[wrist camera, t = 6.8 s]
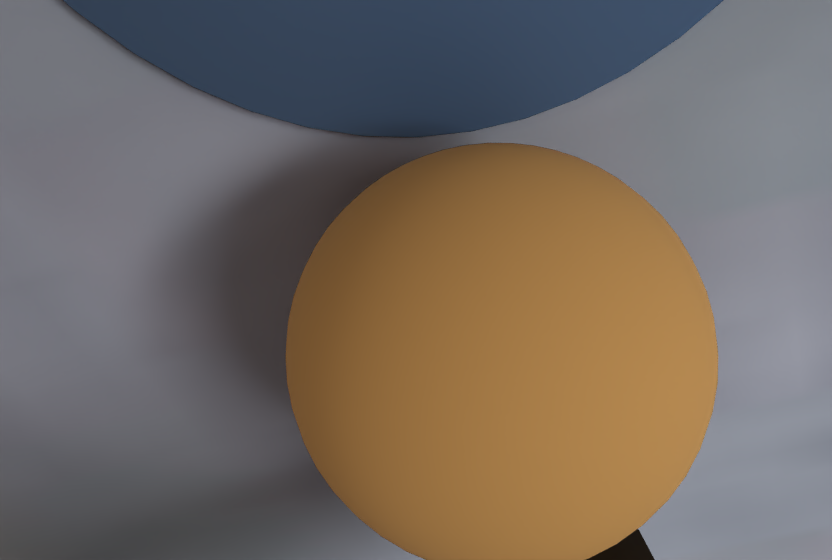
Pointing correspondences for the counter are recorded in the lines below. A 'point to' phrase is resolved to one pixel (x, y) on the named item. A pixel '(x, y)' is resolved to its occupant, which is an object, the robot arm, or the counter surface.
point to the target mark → (396, 54)
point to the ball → (501, 356)
